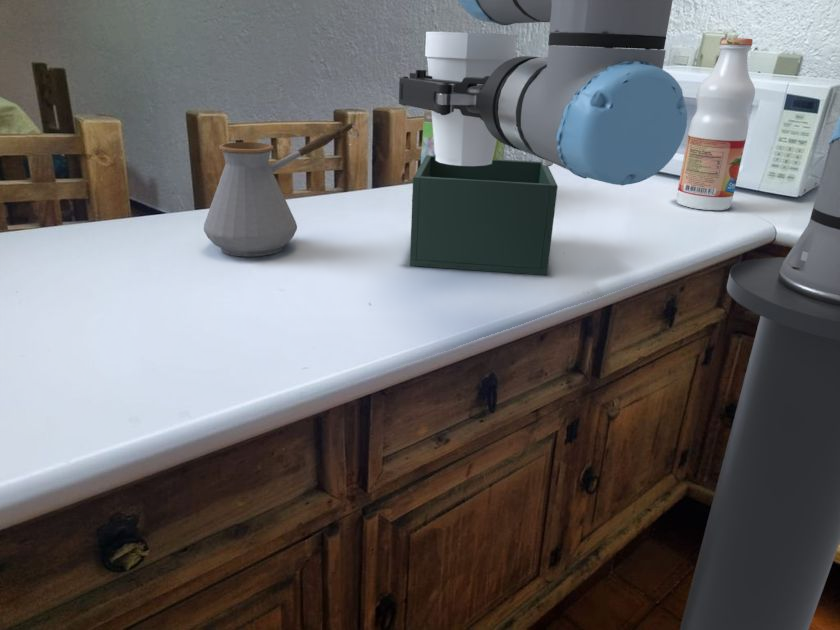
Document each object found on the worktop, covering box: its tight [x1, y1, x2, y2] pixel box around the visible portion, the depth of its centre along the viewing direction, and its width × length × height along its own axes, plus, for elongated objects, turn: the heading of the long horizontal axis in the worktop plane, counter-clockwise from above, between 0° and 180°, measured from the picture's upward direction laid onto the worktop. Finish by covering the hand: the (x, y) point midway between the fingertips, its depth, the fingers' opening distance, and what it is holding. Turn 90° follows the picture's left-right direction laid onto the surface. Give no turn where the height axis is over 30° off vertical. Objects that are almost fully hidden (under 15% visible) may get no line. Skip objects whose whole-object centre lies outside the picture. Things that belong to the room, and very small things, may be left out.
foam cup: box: [424, 31, 518, 166], centre depth 70 cm, size 10×9×13 cm
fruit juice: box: [675, 37, 756, 211], centre depth 114 cm, size 9×9×28 cm
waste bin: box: [409, 155, 558, 276], centre depth 85 cm, size 17×17×11 cm
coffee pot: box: [203, 123, 360, 258], centre depth 84 cm, size 21×12×15 cm, turn 127°
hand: (455, 87), depth 74 cm, fingers closed on foam cup, 9 cm apart
